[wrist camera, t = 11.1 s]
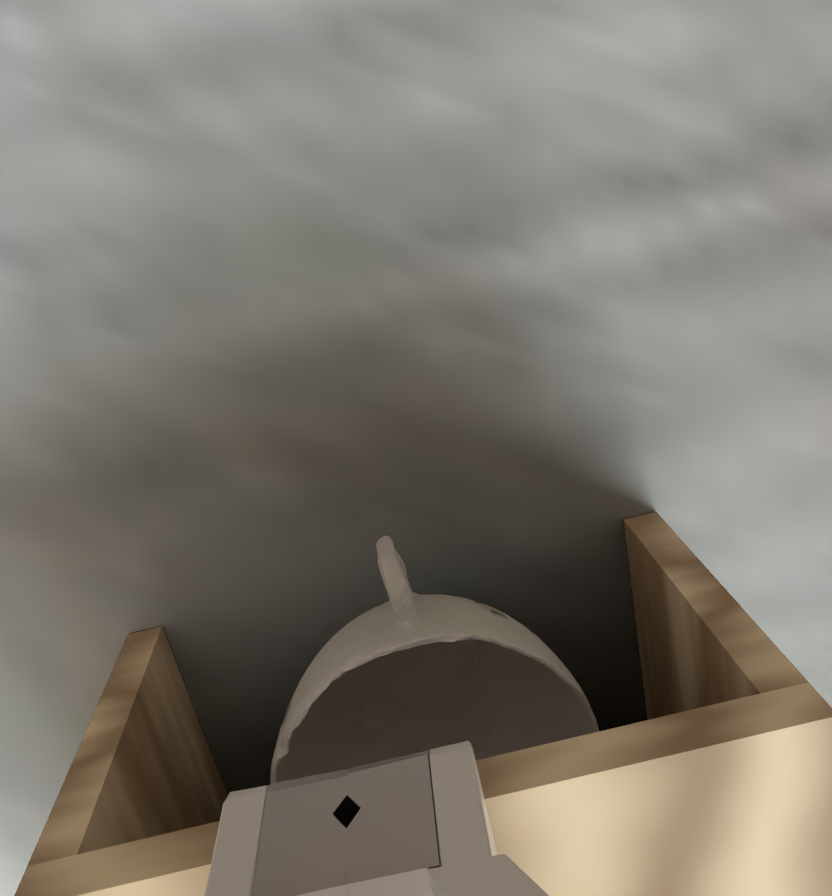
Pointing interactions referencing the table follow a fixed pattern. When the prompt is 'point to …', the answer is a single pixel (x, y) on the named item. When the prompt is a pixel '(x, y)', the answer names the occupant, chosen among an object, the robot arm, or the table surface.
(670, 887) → the wooden bridge shelf
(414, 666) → the teacup
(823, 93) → the table surface
